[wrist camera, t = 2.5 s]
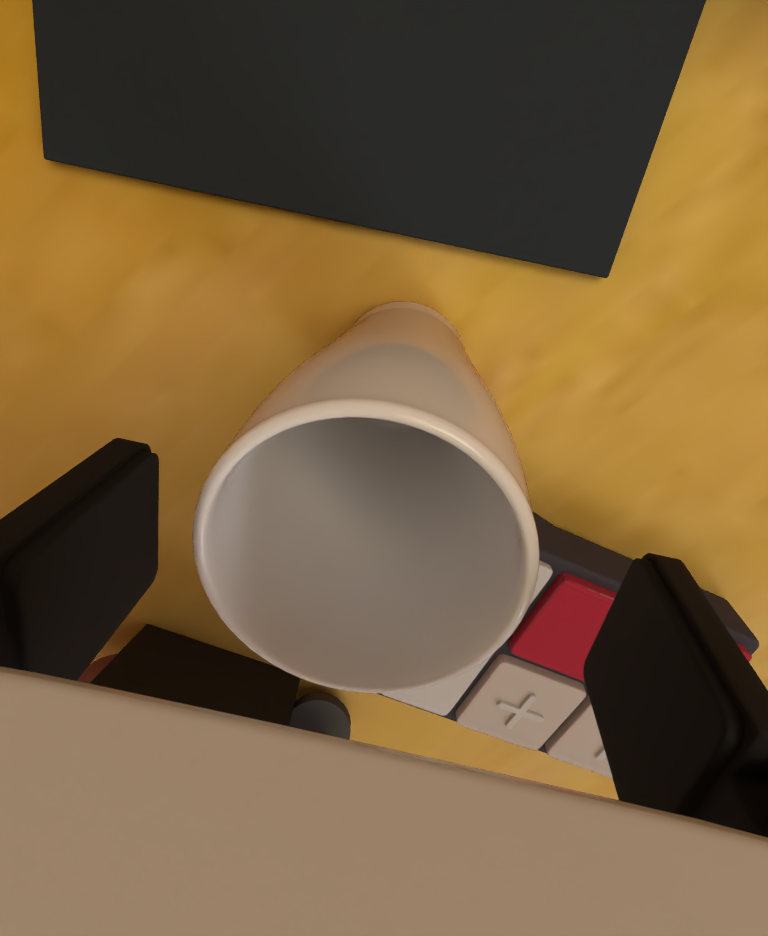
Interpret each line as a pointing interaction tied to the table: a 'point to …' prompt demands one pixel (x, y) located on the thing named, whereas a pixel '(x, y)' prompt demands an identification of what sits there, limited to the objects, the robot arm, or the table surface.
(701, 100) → the table surface
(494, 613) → the white cup
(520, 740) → the calculator
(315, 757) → the robot arm
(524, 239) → the desk pad
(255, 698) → the character figurine
